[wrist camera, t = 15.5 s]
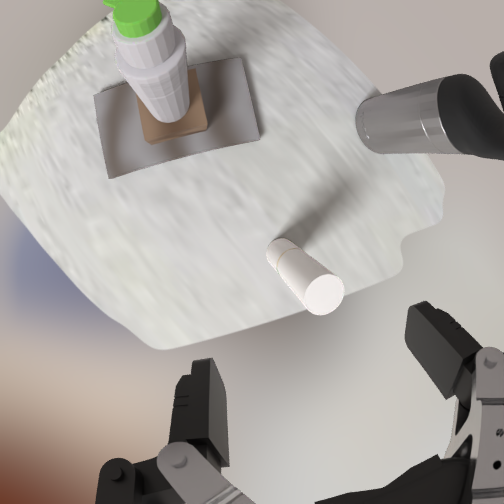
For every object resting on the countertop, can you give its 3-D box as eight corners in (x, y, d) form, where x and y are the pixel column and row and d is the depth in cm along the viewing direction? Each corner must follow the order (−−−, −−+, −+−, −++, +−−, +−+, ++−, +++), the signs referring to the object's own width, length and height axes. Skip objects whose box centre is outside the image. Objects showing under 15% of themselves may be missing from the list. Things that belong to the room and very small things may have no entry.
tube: (266, 238, 40) (306, 275, 25) (295, 237, 40) (346, 272, 26) (265, 267, 41) (302, 317, 27) (294, 266, 42) (341, 312, 27)
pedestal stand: (239, 61, 32) (247, 42, 26) (257, 140, 36) (270, 134, 30) (97, 97, 30) (80, 85, 23) (112, 178, 33) (96, 180, 27)
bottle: (176, 79, 26) (156, -36, 7) (197, 107, 27) (203, 10, 8) (142, 101, 26) (75, 11, 7) (163, 130, 27) (112, 63, 8)
